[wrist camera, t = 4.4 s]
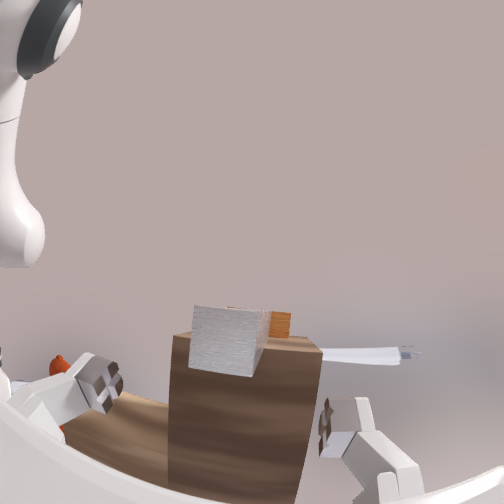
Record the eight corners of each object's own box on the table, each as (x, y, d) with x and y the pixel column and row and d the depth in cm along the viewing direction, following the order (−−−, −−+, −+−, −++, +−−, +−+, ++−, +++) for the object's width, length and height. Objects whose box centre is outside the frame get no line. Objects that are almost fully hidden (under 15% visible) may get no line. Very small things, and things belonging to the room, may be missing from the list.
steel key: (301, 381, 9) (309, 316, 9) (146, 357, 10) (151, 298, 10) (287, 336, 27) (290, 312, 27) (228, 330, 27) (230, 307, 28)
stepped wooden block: (271, 572, 11) (322, 352, 17) (84, 518, 14) (61, 308, 19) (275, 517, 22) (306, 337, 27) (125, 483, 25) (123, 311, 30)
